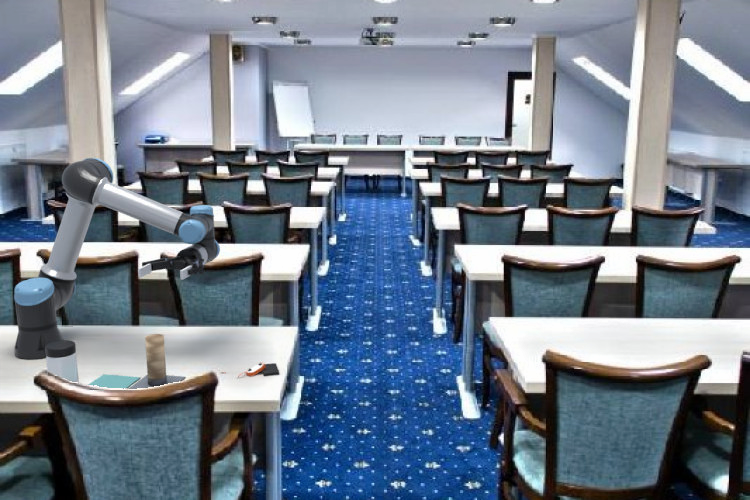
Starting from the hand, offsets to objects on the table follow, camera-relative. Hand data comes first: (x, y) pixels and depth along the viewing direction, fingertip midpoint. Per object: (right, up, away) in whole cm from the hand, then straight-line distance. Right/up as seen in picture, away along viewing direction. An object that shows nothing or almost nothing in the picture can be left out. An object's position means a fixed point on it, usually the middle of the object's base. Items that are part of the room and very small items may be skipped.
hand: (160, 274), depth 227 cm
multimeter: (+26, -31, +1) cm, 41 cm away
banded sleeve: (+1, -32, -5) cm, 32 cm away
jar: (-27, -32, -5) cm, 42 cm away
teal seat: (-13, -32, -6) cm, 35 cm away
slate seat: (+1, -32, -5) cm, 32 cm away
